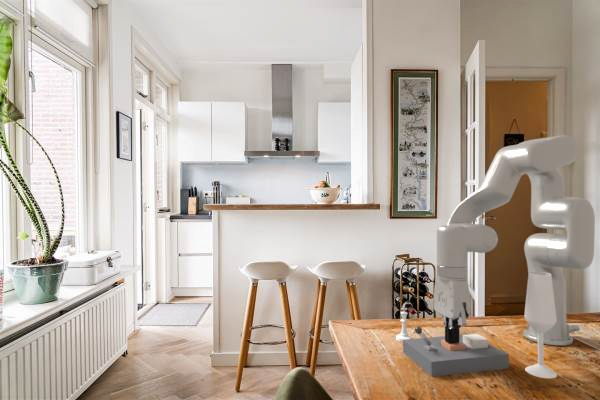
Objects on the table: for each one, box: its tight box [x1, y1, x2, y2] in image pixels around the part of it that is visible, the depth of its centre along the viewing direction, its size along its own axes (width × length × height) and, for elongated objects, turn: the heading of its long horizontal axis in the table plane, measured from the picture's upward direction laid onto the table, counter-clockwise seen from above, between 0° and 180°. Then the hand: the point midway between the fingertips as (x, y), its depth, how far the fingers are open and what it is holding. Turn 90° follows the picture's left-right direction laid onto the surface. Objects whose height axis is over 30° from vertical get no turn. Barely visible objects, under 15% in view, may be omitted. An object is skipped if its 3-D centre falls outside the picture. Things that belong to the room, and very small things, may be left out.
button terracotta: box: [441, 340, 466, 351], centre depth 102 cm, size 4×4×2 cm
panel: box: [402, 333, 510, 377], centre depth 102 cm, size 21×15×4 cm
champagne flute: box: [523, 272, 558, 379], centre depth 94 cm, size 7×7×24 cm
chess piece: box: [395, 305, 413, 343], centre depth 117 cm, size 5×5×10 cm
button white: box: [462, 333, 489, 349], centre depth 103 cm, size 4×4×2 cm
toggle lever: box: [414, 326, 431, 346], centre depth 100 cm, size 2×2×6 cm
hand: (452, 342), depth 102 cm, fingers closed
